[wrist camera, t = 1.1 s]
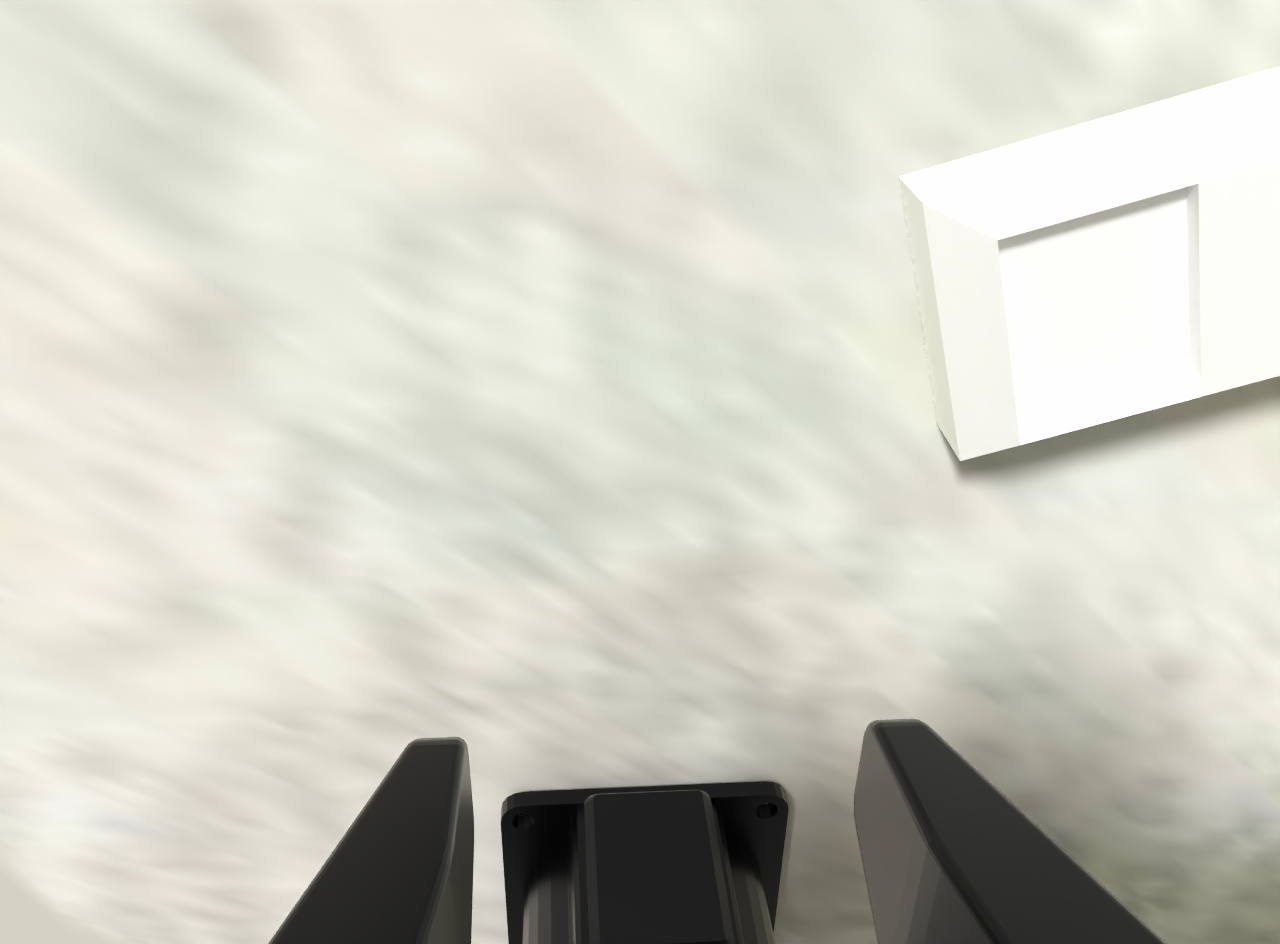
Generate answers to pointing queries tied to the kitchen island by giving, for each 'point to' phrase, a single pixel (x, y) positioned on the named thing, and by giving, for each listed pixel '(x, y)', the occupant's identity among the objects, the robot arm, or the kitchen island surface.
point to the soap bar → (1101, 267)
